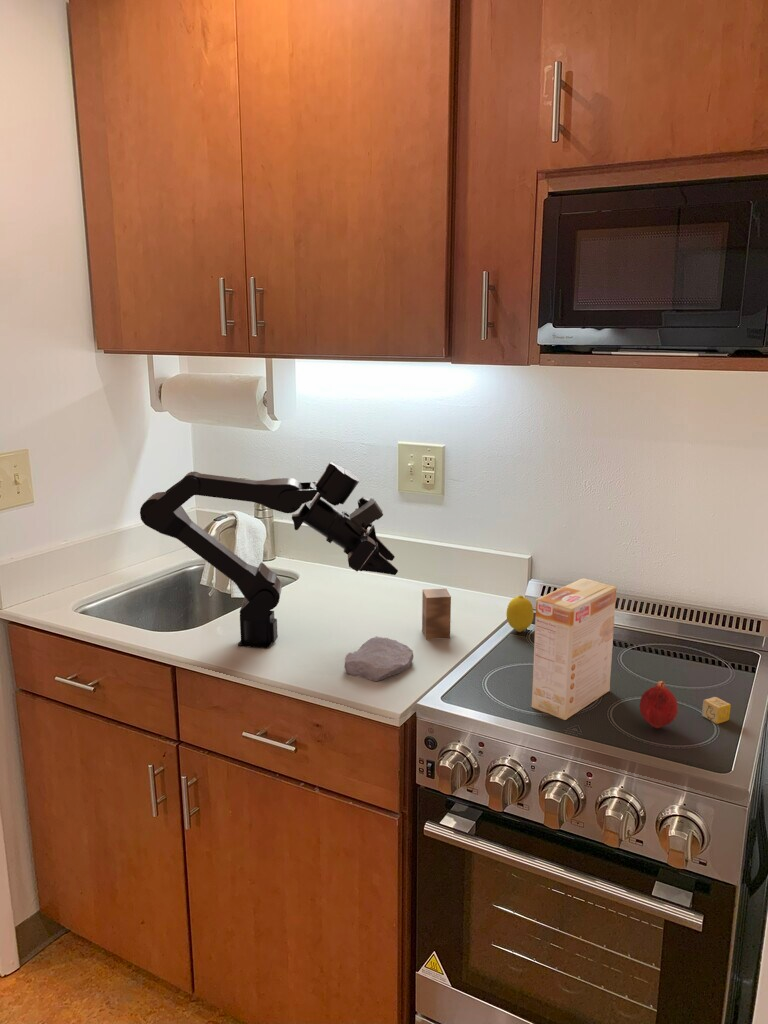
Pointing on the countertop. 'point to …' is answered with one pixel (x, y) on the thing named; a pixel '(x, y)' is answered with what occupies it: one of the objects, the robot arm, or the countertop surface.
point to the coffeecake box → (573, 647)
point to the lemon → (520, 613)
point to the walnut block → (436, 613)
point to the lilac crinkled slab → (378, 659)
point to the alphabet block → (716, 710)
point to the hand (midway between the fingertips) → (395, 565)
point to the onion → (658, 706)
